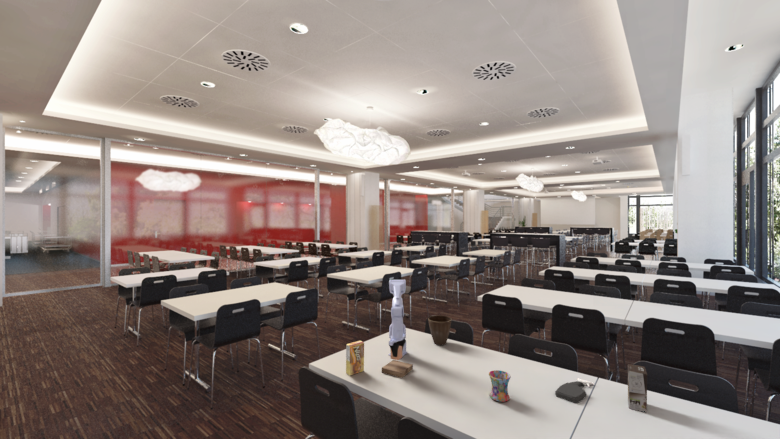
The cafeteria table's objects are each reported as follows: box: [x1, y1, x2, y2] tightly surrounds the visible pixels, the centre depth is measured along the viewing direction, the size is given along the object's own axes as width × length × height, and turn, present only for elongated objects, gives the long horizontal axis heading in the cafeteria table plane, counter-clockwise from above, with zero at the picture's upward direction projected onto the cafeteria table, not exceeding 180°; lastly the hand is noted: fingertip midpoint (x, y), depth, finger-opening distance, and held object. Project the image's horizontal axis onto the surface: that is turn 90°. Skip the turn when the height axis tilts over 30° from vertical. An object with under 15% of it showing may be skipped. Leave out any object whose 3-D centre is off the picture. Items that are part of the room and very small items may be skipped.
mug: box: [488, 369, 512, 403], centre depth 157 cm, size 12×9×11 cm
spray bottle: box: [554, 377, 595, 404], centre depth 163 cm, size 3×11×24 cm
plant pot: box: [427, 315, 452, 346], centre depth 224 cm, size 15×15×16 cm
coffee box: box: [627, 363, 648, 413], centre depth 149 cm, size 9×6×16 cm
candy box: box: [345, 340, 365, 376], centre depth 182 cm, size 9×4×15 cm, turn 129°
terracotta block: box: [390, 346, 403, 361], centre depth 184 cm, size 4×4×6 cm
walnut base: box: [381, 359, 414, 379], centre depth 184 cm, size 12×12×3 cm
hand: (397, 354), depth 184 cm, fingers closed on terracotta block, 4 cm apart
